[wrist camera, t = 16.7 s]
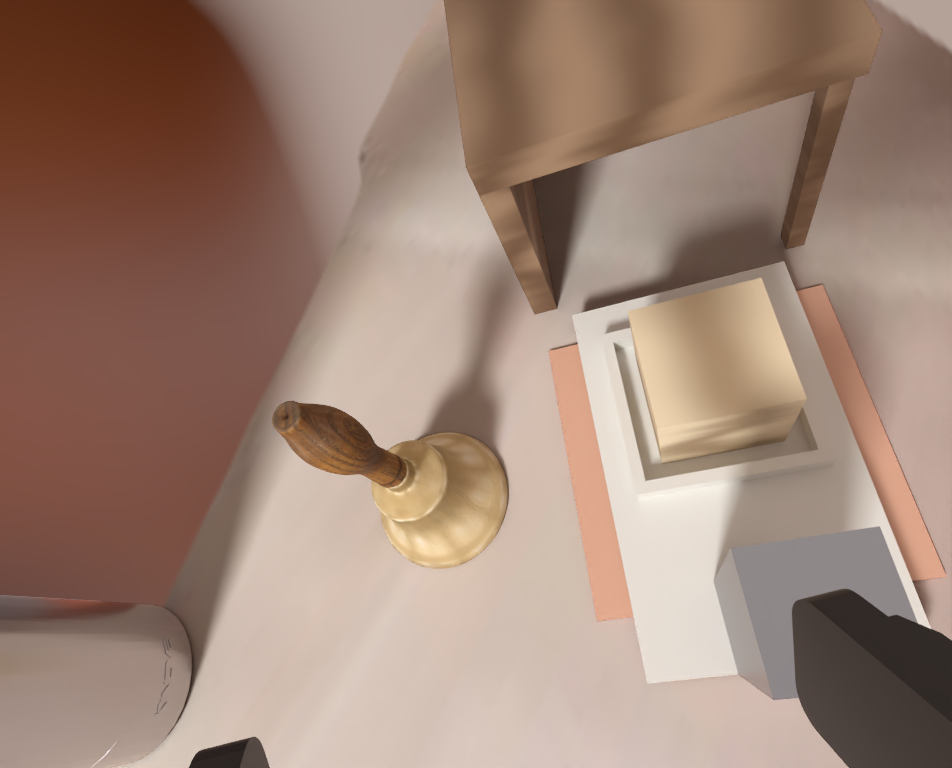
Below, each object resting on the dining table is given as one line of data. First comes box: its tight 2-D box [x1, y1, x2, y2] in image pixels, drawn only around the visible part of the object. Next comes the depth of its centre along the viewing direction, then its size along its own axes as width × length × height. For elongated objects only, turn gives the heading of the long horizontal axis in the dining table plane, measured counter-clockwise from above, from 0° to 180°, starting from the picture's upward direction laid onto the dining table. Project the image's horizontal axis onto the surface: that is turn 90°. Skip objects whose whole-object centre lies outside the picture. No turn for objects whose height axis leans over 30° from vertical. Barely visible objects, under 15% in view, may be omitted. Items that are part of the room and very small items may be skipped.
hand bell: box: [272, 401, 508, 569], centre depth 29 cm, size 8×8×16 cm
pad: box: [549, 285, 947, 621], centre depth 32 cm, size 16×16×1 cm
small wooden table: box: [444, 0, 882, 314], centre depth 34 cm, size 17×14×14 cm
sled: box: [572, 261, 931, 700], centre depth 26 cm, size 12×20×14 cm, turn 6°
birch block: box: [628, 278, 807, 464], centre depth 29 cm, size 6×6×6 cm
